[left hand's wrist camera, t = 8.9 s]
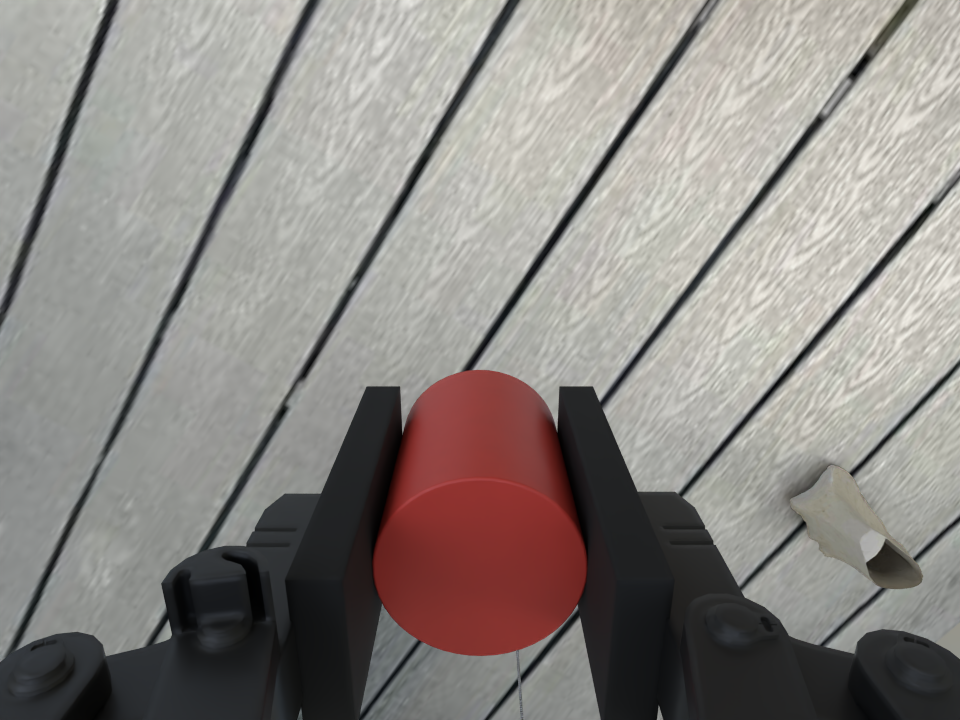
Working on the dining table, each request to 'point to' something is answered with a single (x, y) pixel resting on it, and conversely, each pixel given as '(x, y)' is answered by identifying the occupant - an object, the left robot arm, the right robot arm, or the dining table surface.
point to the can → (480, 520)
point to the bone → (854, 531)
